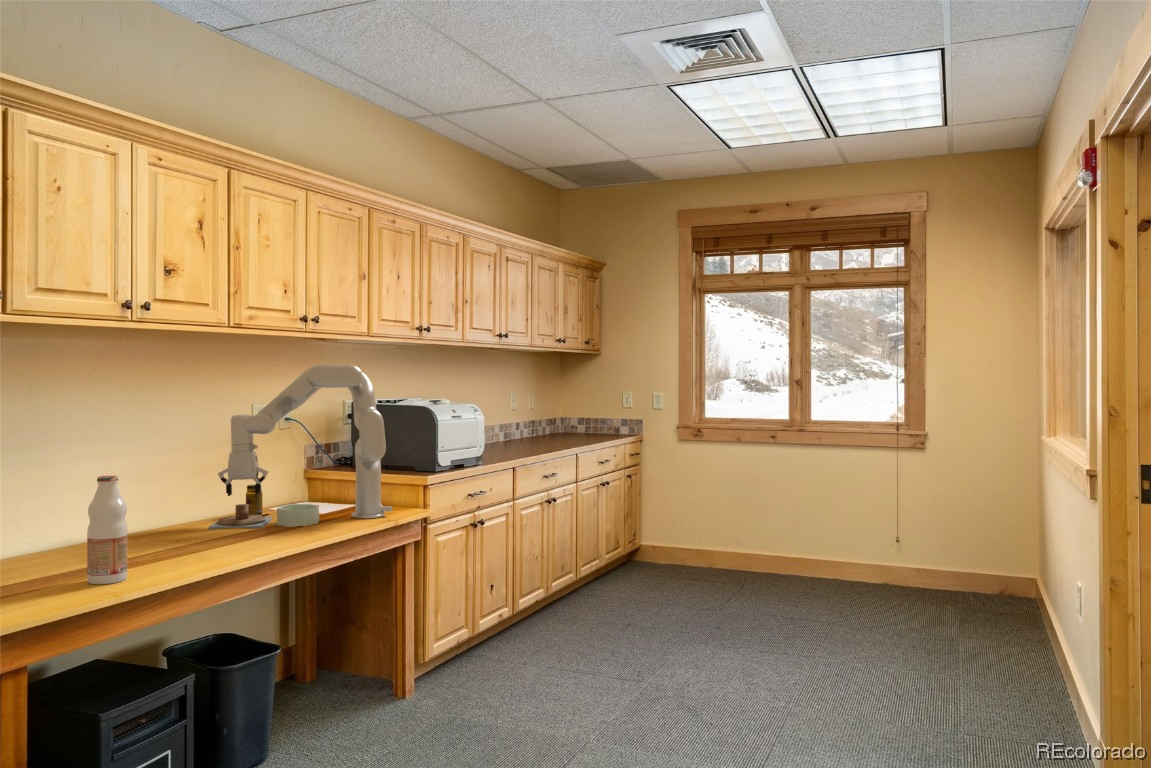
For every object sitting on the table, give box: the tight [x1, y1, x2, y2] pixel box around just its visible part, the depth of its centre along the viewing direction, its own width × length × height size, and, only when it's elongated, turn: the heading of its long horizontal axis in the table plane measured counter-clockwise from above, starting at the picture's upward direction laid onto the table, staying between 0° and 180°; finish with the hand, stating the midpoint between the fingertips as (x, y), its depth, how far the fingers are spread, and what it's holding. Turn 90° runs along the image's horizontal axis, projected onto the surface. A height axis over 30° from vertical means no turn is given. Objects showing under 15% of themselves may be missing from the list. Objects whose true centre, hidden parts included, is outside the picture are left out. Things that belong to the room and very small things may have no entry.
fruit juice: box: [86, 475, 128, 585], centre depth 223 cm, size 9×9×28 cm
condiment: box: [245, 484, 263, 515], centre depth 323 cm, size 7×8×12 cm
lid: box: [217, 503, 266, 526], centre depth 305 cm, size 16×16×6 cm
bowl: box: [276, 503, 320, 528], centre depth 308 cm, size 14×14×6 cm
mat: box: [208, 516, 273, 530], centre depth 305 cm, size 18×18×1 cm
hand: (243, 494), depth 305 cm, fingers open, 9 cm apart
